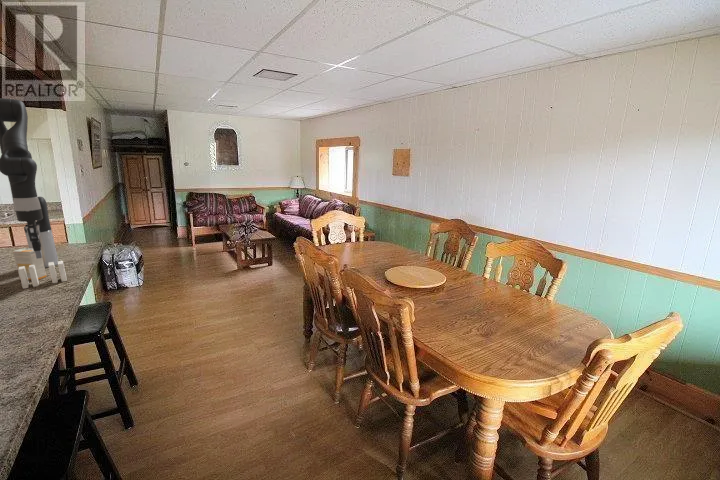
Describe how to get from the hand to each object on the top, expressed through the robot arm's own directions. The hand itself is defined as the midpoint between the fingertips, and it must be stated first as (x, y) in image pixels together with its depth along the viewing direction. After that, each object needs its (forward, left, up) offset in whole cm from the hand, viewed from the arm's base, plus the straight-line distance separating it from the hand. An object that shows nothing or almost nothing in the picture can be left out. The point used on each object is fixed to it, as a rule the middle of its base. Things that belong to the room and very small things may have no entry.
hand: (37, 248), depth 139 cm
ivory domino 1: (0, -6, -15) cm, 16 cm away
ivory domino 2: (0, -3, -15) cm, 15 cm away
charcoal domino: (0, 0, -3) cm, 3 cm away
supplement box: (-10, -4, -15) cm, 19 cm away
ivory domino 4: (0, +6, -15) cm, 16 cm away
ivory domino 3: (0, +3, -15) cm, 15 cm away
